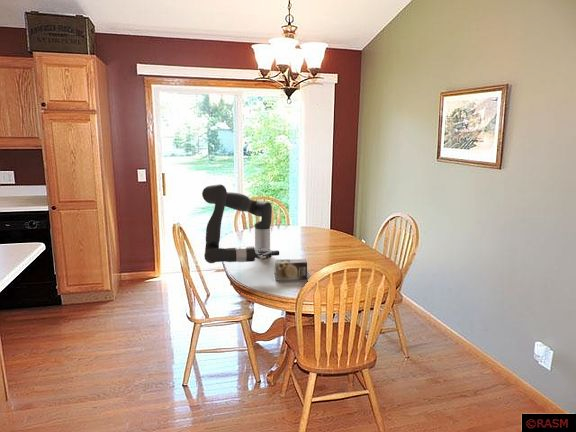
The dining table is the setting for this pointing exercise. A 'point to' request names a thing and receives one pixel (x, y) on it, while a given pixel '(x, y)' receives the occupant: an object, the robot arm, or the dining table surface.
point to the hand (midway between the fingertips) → (279, 252)
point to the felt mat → (295, 280)
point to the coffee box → (291, 269)
